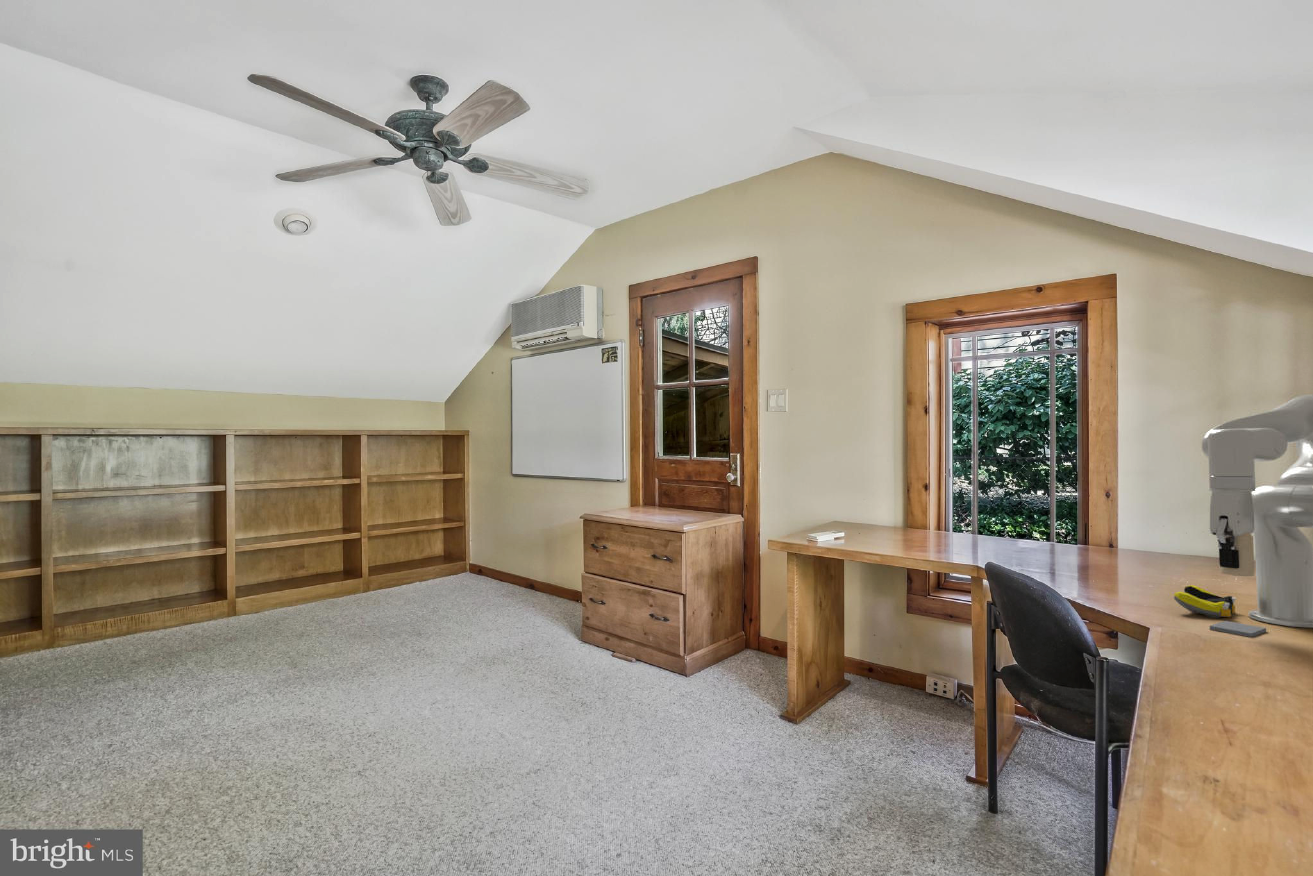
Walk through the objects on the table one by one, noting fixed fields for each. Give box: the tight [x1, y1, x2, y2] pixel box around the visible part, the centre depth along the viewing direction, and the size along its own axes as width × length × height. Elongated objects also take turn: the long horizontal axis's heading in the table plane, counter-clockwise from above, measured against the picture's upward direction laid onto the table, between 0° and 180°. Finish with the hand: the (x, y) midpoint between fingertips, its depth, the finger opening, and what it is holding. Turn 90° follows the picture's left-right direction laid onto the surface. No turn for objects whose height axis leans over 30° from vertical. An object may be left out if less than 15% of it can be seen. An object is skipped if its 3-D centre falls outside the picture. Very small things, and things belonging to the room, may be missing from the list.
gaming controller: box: [1173, 584, 1237, 619], centre depth 153 cm, size 15×6×10 cm
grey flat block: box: [1209, 620, 1267, 638], centre depth 137 cm, size 8×7×1 cm
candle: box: [1219, 532, 1255, 577], centre depth 138 cm, size 6×6×10 cm
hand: (1235, 565), depth 138 cm, fingers closed on candle, 5 cm apart
